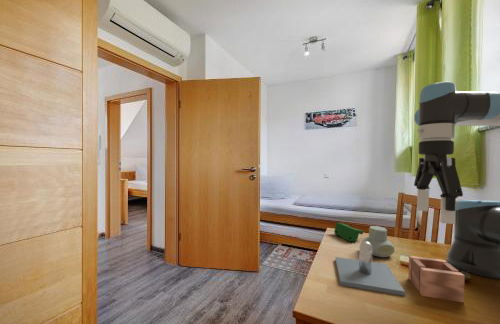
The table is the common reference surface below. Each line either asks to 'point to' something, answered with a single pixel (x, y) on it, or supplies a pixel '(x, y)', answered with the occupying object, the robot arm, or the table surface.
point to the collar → (436, 278)
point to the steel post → (365, 258)
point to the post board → (368, 277)
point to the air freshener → (379, 242)
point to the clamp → (347, 232)
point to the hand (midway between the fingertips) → (433, 216)
